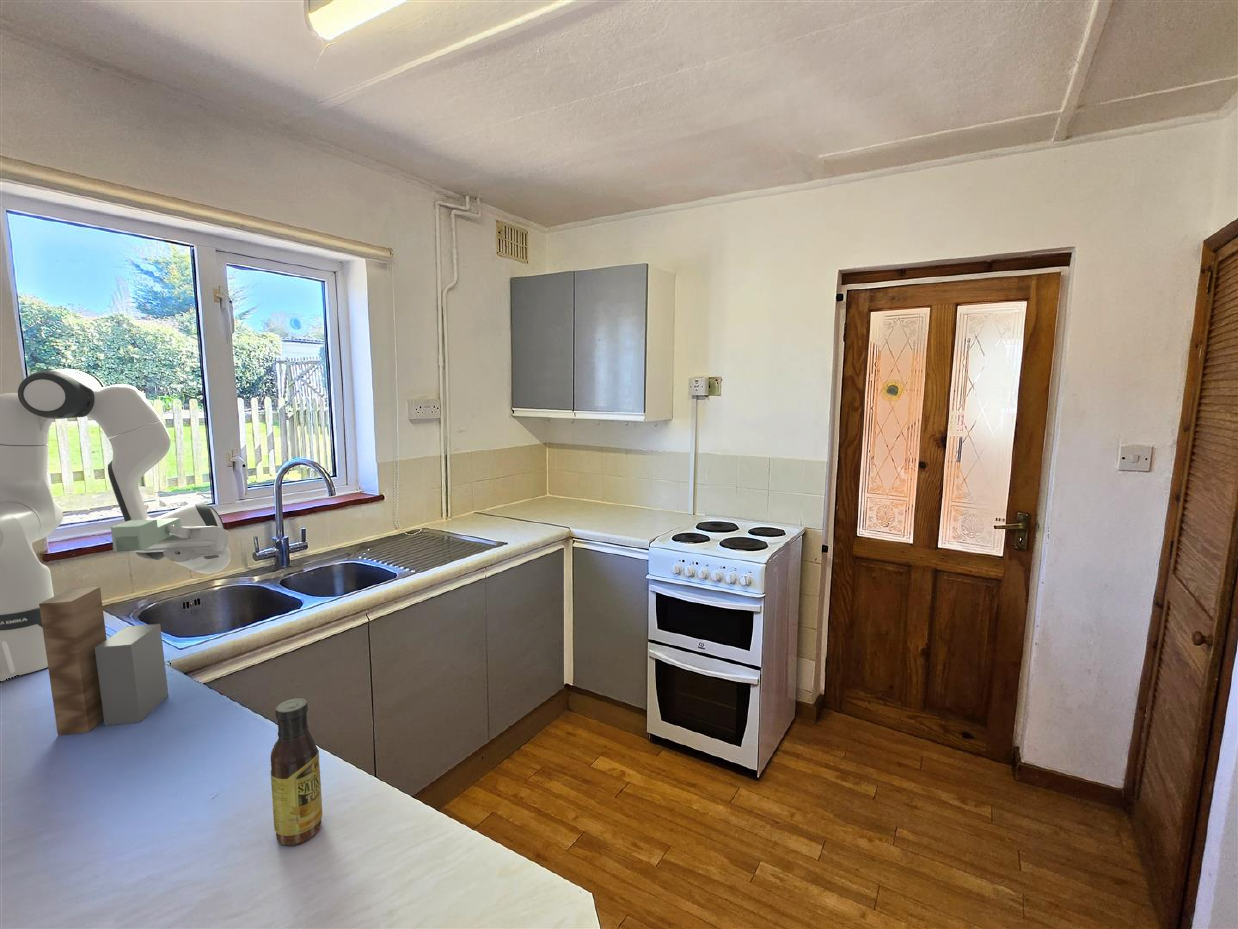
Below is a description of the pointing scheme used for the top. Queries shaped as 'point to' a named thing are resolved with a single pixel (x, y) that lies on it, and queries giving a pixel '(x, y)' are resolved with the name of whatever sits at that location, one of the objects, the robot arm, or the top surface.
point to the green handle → (140, 533)
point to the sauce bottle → (295, 776)
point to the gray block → (131, 673)
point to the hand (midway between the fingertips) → (154, 529)
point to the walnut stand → (74, 657)
